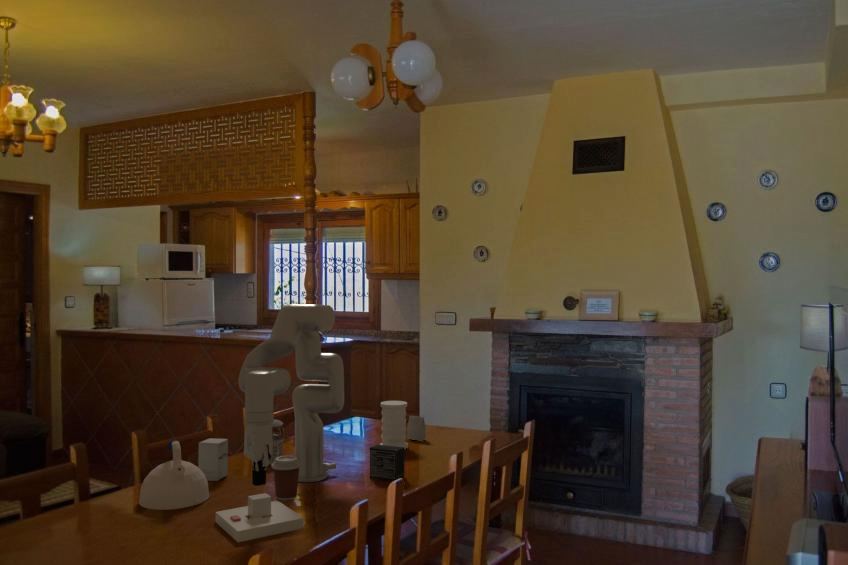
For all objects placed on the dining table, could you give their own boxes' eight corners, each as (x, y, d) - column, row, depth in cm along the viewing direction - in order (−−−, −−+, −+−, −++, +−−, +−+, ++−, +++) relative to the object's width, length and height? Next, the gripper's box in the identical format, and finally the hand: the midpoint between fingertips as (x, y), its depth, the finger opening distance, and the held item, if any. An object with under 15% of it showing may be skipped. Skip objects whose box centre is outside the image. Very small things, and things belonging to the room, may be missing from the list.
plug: (264, 519, 189) (265, 492, 189) (271, 524, 185) (271, 497, 185) (246, 523, 186) (246, 496, 186) (252, 528, 182) (252, 500, 182)
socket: (277, 510, 198) (277, 498, 198) (303, 528, 183) (303, 515, 183) (215, 522, 188) (215, 509, 188) (237, 542, 173) (237, 529, 173)
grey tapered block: (421, 441, 286) (421, 418, 286) (407, 440, 289) (407, 416, 289) (425, 440, 289) (425, 416, 289) (411, 438, 292) (411, 415, 292)
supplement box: (217, 481, 227) (217, 443, 227) (197, 480, 228) (197, 442, 228) (228, 475, 234) (228, 438, 234) (208, 474, 236) (208, 437, 236)
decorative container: (413, 446, 277) (413, 402, 277) (397, 452, 267) (397, 406, 268) (390, 442, 283) (390, 399, 284) (373, 448, 274) (373, 403, 274)
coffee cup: (286, 503, 204) (287, 463, 204) (264, 498, 208) (265, 459, 209) (307, 495, 211) (307, 457, 211) (285, 491, 216) (285, 453, 216)
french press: (253, 462, 251) (253, 394, 252) (271, 455, 262) (271, 390, 262) (275, 465, 248) (275, 396, 248) (293, 457, 258) (293, 391, 259)
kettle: (142, 515, 194) (142, 451, 194) (135, 495, 212) (136, 437, 212) (215, 504, 203) (215, 444, 203) (203, 486, 221) (203, 430, 222)
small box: (405, 477, 232) (405, 446, 232) (396, 482, 226) (396, 450, 227) (378, 473, 237) (378, 443, 237) (369, 478, 231) (369, 447, 231)
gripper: (236, 414, 189) (236, 480, 189) (256, 423, 177) (255, 493, 177) (262, 411, 194) (262, 476, 194) (283, 419, 181) (283, 489, 181)
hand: (259, 484), depth 185 cm, fingers closed
